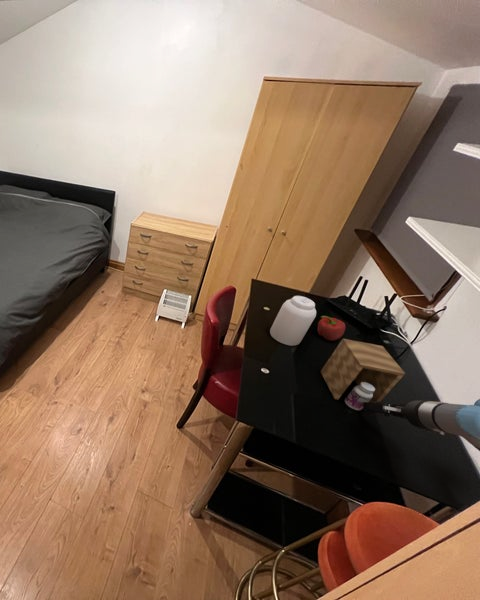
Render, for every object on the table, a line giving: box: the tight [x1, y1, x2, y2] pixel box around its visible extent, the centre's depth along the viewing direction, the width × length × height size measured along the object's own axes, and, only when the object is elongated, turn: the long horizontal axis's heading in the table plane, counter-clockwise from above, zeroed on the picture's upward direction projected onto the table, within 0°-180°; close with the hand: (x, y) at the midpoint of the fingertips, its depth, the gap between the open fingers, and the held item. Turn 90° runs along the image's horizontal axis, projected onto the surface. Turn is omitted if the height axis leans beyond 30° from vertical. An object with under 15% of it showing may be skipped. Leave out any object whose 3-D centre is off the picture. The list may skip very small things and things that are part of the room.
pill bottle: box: [344, 382, 375, 411], centre depth 111 cm, size 5×5×10 cm
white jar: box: [269, 295, 317, 347], centre depth 139 cm, size 12×12×20 cm
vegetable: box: [317, 315, 346, 342], centre depth 145 cm, size 11×10×10 cm
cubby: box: [320, 338, 406, 403], centre depth 116 cm, size 14×13×17 cm
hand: (365, 406), depth 109 cm, fingers closed
